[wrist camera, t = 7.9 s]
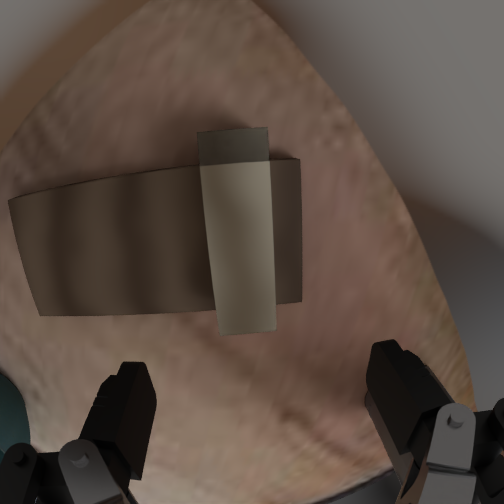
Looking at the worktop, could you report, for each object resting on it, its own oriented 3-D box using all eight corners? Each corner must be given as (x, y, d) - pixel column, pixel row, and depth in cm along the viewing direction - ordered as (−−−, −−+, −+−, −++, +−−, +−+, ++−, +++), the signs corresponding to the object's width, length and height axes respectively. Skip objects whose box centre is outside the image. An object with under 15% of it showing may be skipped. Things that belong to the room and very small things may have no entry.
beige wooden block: (257, 131, 23) (267, 127, 16) (266, 295, 27) (276, 338, 21) (205, 135, 22) (197, 132, 16) (221, 299, 27) (220, 343, 21)
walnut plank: (294, 157, 24) (300, 159, 22) (297, 291, 28) (301, 301, 26) (19, 196, 23) (7, 200, 21) (48, 306, 27) (39, 315, 25)
